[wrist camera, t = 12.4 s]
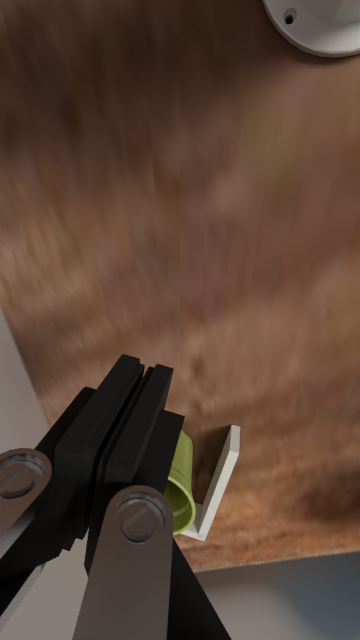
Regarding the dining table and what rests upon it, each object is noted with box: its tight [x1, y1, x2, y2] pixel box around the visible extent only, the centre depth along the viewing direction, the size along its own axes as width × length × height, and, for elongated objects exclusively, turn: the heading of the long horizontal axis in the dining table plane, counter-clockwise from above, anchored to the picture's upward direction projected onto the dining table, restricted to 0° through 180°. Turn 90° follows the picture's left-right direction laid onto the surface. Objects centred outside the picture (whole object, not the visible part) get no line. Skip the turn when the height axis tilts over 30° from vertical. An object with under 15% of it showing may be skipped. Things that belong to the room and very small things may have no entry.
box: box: [181, 425, 240, 541], centre depth 40 cm, size 16×16×4 cm
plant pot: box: [164, 429, 196, 535], centre depth 37 cm, size 9×9×9 cm
